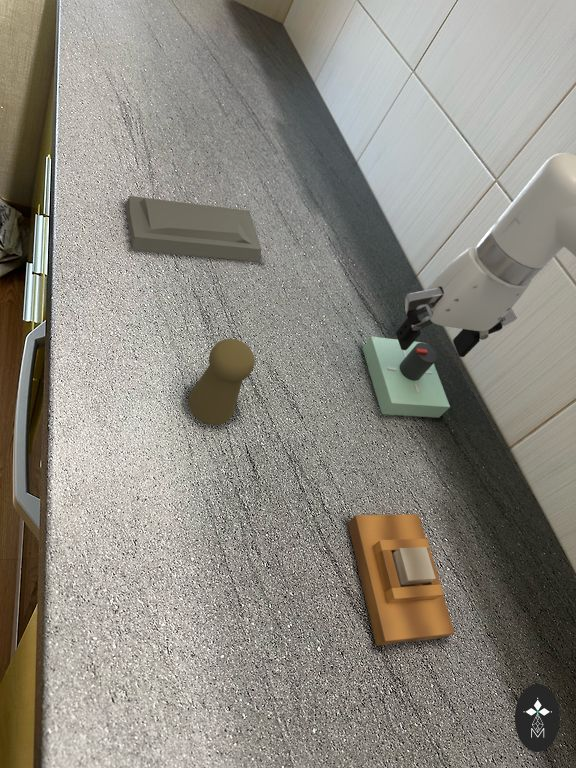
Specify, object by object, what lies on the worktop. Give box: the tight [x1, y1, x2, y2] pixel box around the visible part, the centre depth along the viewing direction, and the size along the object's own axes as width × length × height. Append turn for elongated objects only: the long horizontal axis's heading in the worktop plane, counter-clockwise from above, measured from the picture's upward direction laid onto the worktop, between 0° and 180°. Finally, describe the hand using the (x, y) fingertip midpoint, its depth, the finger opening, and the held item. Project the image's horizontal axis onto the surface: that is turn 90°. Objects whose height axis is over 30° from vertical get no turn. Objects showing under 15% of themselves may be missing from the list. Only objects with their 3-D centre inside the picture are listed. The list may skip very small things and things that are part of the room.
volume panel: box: [362, 336, 451, 419], centre depth 86 cm, size 10×12×3 cm
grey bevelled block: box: [124, 195, 262, 263], centre depth 89 cm, size 10×20×4 cm, turn 105°
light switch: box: [347, 513, 456, 647], centre depth 66 cm, size 9×14×4 cm, turn 10°
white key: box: [392, 547, 436, 585], centre depth 64 cm, size 4×4×2 cm
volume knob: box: [400, 342, 438, 381], centre depth 83 cm, size 4×4×5 cm
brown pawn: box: [187, 338, 256, 426], centre depth 68 cm, size 6×6×11 cm
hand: (429, 345), depth 80 cm, fingers open, 9 cm apart
